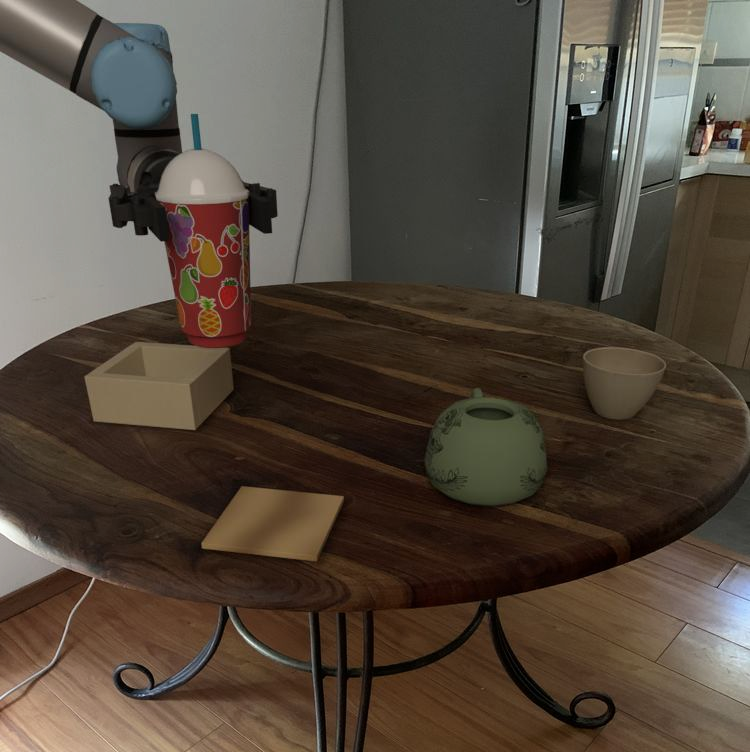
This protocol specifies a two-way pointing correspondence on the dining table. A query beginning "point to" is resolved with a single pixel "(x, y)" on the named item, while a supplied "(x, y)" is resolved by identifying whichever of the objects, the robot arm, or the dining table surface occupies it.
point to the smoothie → (208, 245)
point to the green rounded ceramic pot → (486, 452)
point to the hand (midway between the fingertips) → (216, 221)
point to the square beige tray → (160, 385)
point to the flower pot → (620, 380)
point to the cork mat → (275, 523)
